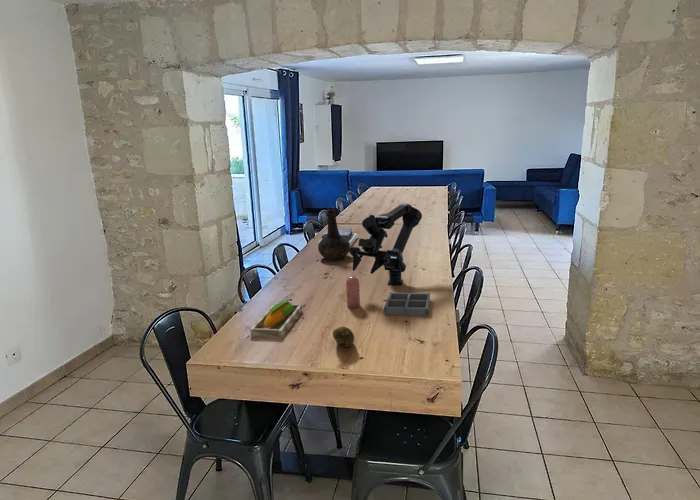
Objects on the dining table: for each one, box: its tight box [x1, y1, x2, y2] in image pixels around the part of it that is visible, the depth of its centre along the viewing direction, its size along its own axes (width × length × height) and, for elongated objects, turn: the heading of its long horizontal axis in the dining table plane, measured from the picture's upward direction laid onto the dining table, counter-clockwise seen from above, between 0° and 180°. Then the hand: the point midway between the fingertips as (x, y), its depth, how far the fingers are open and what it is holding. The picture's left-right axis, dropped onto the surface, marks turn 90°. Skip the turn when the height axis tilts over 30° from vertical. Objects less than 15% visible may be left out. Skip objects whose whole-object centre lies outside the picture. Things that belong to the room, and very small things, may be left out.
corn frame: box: [249, 303, 303, 339], centre depth 187 cm, size 25×12×3 cm, turn 168°
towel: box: [321, 227, 353, 241], centre depth 305 cm, size 15×18×8 cm
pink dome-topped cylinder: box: [345, 275, 361, 310], centre depth 199 cm, size 5×5×13 cm
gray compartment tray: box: [383, 292, 431, 317], centre depth 197 cm, size 17×17×3 cm
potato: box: [332, 326, 355, 348], centre depth 165 cm, size 8×13×8 cm, turn 168°
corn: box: [263, 300, 294, 329], centre depth 187 cm, size 7×8×20 cm
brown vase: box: [317, 208, 350, 261], centre depth 269 cm, size 18×18×28 cm
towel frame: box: [317, 232, 358, 247], centre depth 306 cm, size 23×20×3 cm
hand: (362, 271), depth 203 cm, fingers open, 9 cm apart
